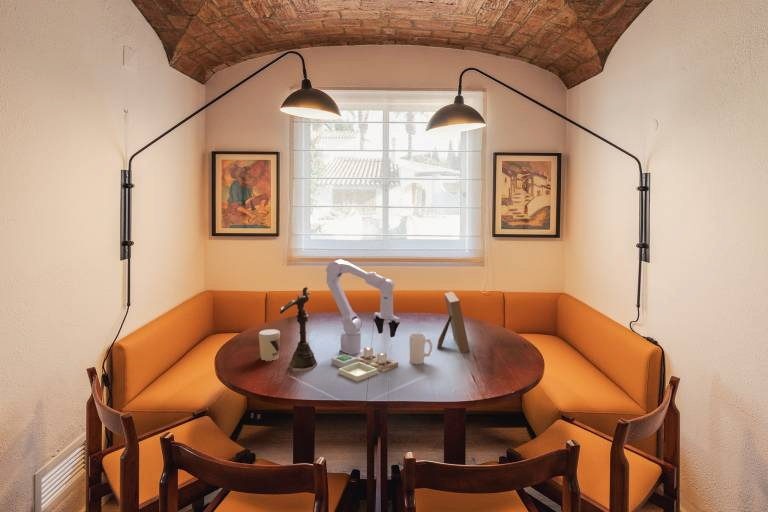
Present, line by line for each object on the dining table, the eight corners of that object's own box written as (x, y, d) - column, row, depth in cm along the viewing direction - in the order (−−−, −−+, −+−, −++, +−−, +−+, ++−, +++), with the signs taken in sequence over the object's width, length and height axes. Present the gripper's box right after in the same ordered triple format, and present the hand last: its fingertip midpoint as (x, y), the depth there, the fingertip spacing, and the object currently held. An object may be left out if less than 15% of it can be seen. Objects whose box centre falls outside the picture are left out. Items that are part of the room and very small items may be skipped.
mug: (408, 364, 178) (408, 337, 177) (409, 358, 185) (410, 332, 183) (431, 365, 177) (432, 338, 175) (432, 360, 183) (432, 333, 182)
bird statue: (271, 372, 168) (270, 287, 164) (283, 360, 181) (282, 282, 177) (310, 374, 166) (310, 289, 162) (320, 363, 178) (319, 283, 175)
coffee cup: (274, 362, 179) (274, 335, 177) (255, 360, 180) (254, 334, 179) (284, 355, 188) (283, 329, 186) (265, 353, 190) (264, 328, 188)
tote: (338, 374, 166) (338, 368, 166) (358, 367, 174) (358, 361, 174) (357, 382, 158) (357, 376, 158) (377, 374, 166) (377, 368, 166)
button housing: (331, 365, 176) (331, 358, 176) (345, 360, 182) (345, 353, 181) (343, 369, 171) (343, 362, 171) (356, 365, 176) (356, 358, 176)
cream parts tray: (353, 361, 180) (353, 357, 180) (368, 356, 187) (368, 352, 187) (383, 373, 168) (383, 368, 168) (398, 367, 174) (398, 362, 174)
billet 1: (361, 361, 180) (361, 348, 180) (368, 359, 183) (368, 346, 183) (368, 364, 178) (368, 350, 177) (374, 361, 181) (374, 348, 180)
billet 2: (375, 367, 174) (375, 353, 173) (381, 365, 177) (382, 351, 176) (381, 370, 171) (381, 356, 170) (388, 367, 174) (388, 354, 173)
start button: (337, 363, 176) (337, 357, 176) (344, 360, 179) (344, 355, 179) (343, 366, 173) (343, 360, 173) (351, 363, 176) (351, 357, 176)
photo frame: (461, 338, 215) (463, 291, 212) (469, 352, 193) (471, 300, 191) (433, 338, 215) (434, 291, 213) (438, 352, 194) (439, 300, 191)
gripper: (369, 304, 189) (369, 333, 191) (392, 310, 179) (392, 340, 181) (380, 302, 194) (379, 330, 196) (403, 307, 184) (402, 336, 186)
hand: (386, 334), depth 188 cm, fingers open, 7 cm apart
